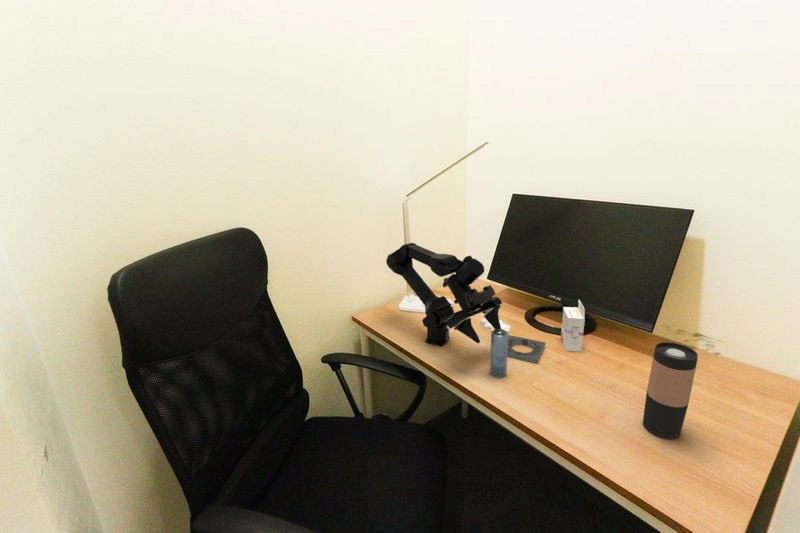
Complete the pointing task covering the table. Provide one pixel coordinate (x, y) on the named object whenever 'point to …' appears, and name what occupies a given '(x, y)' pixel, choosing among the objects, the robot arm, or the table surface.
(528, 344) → the square metal washer
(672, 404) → the travel mug
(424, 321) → the robot arm
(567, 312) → the ink cartridge box
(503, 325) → the astronaut figurine
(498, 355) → the thermos bottle
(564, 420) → the table surface
